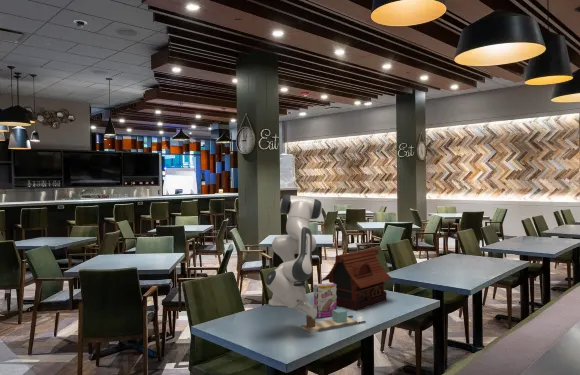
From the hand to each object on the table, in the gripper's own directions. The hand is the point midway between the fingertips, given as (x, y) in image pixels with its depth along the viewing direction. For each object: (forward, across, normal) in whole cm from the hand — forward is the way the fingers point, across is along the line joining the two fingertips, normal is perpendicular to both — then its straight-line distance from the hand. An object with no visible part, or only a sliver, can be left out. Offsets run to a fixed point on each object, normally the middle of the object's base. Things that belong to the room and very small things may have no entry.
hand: (311, 316), depth 212 cm
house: (+37, +27, -28) cm, 54 cm away
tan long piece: (+11, 0, -2) cm, 11 cm away
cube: (+14, 0, -8) cm, 16 cm away
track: (+14, 0, -5) cm, 15 cm away
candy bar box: (+16, +14, -7) cm, 22 cm away
